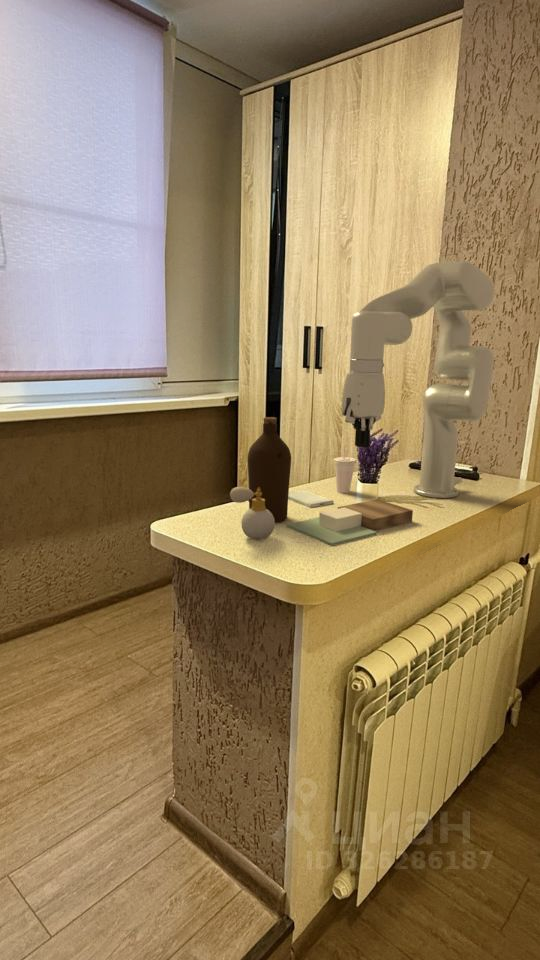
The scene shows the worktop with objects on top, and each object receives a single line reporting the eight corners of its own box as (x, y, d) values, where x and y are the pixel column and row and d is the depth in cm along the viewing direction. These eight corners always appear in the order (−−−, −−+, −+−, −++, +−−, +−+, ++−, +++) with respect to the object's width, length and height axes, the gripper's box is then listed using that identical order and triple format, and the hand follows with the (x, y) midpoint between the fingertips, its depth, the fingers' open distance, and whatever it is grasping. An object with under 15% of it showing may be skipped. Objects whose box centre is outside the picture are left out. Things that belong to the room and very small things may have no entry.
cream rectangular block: (343, 519, 147) (344, 507, 147) (361, 525, 143) (361, 513, 142) (319, 524, 143) (319, 512, 142) (336, 531, 138) (336, 518, 137)
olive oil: (297, 516, 151) (300, 417, 145) (275, 527, 142) (278, 422, 136) (261, 509, 156) (262, 413, 150) (238, 519, 147) (239, 418, 141)
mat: (330, 517, 151) (330, 514, 151) (376, 534, 138) (376, 531, 138) (286, 526, 143) (286, 524, 142) (331, 545, 130) (331, 543, 130)
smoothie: (327, 491, 176) (330, 444, 172) (340, 487, 180) (343, 441, 177) (345, 495, 172) (348, 447, 168) (358, 491, 176) (361, 444, 173)
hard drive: (282, 493, 168) (310, 503, 158) (305, 489, 173) (333, 499, 163) (282, 499, 169) (309, 509, 159) (305, 495, 173) (333, 505, 163)
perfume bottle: (281, 539, 134) (282, 487, 131) (245, 548, 128) (245, 493, 125) (261, 530, 139) (262, 480, 137) (226, 538, 134) (226, 486, 131)
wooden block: (376, 510, 158) (377, 499, 157) (411, 521, 148) (412, 510, 148) (337, 518, 150) (337, 507, 149) (372, 531, 140) (372, 519, 139)
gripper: (376, 365, 144) (372, 441, 149) (330, 367, 136) (327, 447, 140) (400, 367, 139) (395, 445, 143) (354, 369, 130) (350, 452, 134)
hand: (362, 446), depth 142 cm, fingers closed
